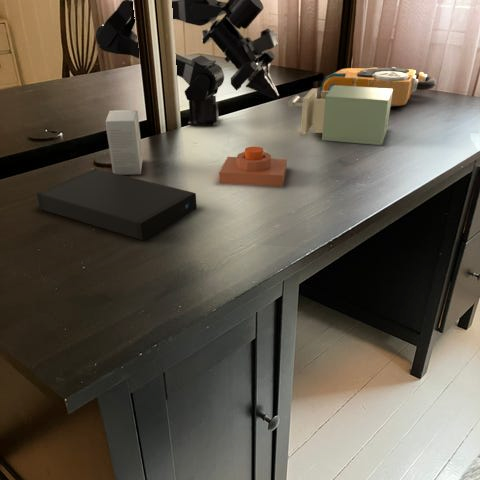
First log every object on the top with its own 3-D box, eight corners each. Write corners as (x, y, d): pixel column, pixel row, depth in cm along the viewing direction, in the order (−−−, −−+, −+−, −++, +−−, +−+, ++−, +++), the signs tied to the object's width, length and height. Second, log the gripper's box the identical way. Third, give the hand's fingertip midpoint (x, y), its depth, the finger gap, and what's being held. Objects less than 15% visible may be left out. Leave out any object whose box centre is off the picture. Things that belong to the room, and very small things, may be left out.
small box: (116, 162, 112) (109, 109, 106) (143, 161, 112) (137, 109, 106) (112, 175, 105) (104, 121, 99) (141, 174, 106) (134, 120, 100)
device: (336, 59, 162) (439, 64, 154) (333, 88, 167) (433, 94, 159) (320, 73, 144) (436, 79, 136) (318, 105, 149) (429, 113, 141)
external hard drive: (98, 183, 102) (96, 168, 100) (197, 209, 92) (196, 192, 90) (40, 209, 92) (36, 193, 90) (143, 241, 82) (140, 223, 80)
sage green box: (321, 140, 123) (325, 96, 118) (330, 126, 132) (334, 85, 127) (381, 145, 120) (388, 100, 114) (386, 131, 129) (393, 88, 123)
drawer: (284, 132, 125) (285, 97, 121) (294, 120, 134) (296, 87, 129) (354, 138, 121) (358, 102, 117) (360, 125, 129) (364, 91, 125)
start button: (243, 161, 101) (243, 151, 100) (246, 154, 104) (246, 145, 103) (262, 161, 101) (262, 152, 100) (264, 155, 104) (264, 146, 103)
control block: (219, 183, 102) (218, 162, 99) (227, 167, 109) (227, 147, 107) (282, 186, 100) (283, 165, 98) (286, 170, 107) (287, 150, 105)
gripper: (243, 21, 111) (292, 81, 115) (267, 12, 126) (310, 65, 129) (210, 61, 118) (257, 116, 121) (236, 48, 132) (278, 97, 136)
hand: (277, 97), depth 127 cm, fingers closed
